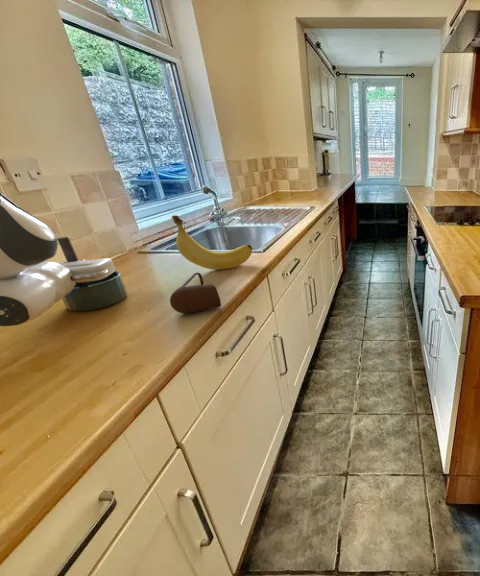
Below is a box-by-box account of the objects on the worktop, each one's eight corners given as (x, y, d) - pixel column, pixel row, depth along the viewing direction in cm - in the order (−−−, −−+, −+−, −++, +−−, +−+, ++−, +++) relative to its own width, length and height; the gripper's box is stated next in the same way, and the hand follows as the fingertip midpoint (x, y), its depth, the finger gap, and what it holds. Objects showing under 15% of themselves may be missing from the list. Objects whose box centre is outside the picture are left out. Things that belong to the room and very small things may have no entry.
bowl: (71, 318, 81) (59, 293, 78) (64, 302, 89) (53, 279, 86) (133, 300, 90) (125, 277, 87) (121, 288, 98) (113, 266, 95)
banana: (253, 260, 121) (243, 207, 112) (256, 265, 116) (246, 210, 108) (184, 272, 110) (168, 214, 102) (185, 277, 105) (168, 217, 97)
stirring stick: (82, 296, 86) (57, 239, 80) (81, 294, 87) (56, 237, 81) (93, 294, 88) (69, 237, 81) (91, 291, 89) (68, 236, 82)
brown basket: (223, 311, 83) (217, 287, 81) (171, 320, 79) (163, 295, 76) (225, 286, 98) (220, 265, 96) (182, 292, 94) (176, 271, 92)
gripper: (97, 263, 75) (118, 247, 87) (-19, 275, 68) (21, 256, 80) (107, 287, 77) (126, 269, 89) (-5, 301, 71) (32, 279, 83)
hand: (75, 263), depth 85 cm, fingers closed on stirring stick, 2 cm apart
